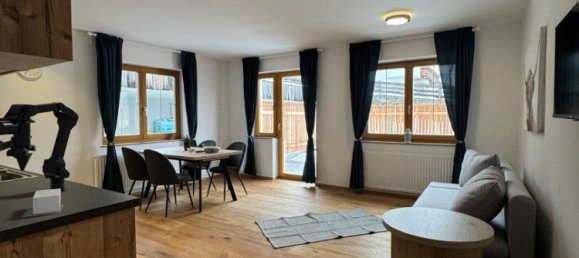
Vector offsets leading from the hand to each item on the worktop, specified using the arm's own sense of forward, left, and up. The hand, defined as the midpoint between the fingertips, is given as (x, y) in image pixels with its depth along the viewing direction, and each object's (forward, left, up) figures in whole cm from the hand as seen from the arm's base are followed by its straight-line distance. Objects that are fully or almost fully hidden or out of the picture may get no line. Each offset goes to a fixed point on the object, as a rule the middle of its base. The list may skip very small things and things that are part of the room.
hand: (22, 170), depth 135 cm
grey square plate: (+20, +11, -13) cm, 26 cm away
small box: (+12, +11, -10) cm, 19 cm away
